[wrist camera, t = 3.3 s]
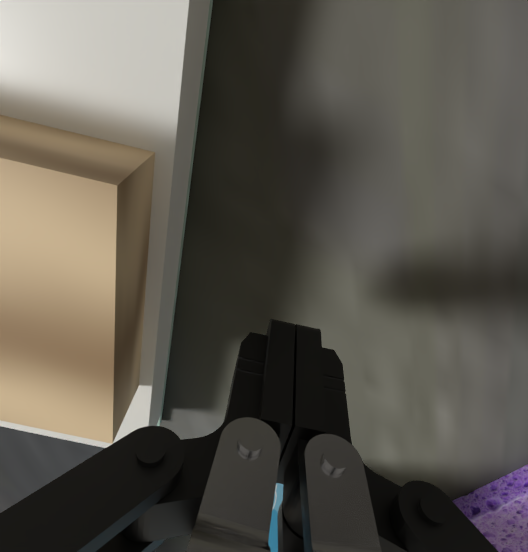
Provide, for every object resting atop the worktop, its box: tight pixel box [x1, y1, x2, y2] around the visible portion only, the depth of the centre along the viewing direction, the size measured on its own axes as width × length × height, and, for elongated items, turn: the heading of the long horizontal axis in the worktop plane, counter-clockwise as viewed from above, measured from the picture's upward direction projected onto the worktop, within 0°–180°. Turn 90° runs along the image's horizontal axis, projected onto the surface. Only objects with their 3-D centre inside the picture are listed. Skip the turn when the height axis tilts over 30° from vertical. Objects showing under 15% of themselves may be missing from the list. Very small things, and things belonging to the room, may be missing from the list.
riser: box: [0, 0, 210, 448], centre depth 14 cm, size 18×8×2 cm, turn 168°
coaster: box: [0, 115, 155, 444], centre depth 12 cm, size 9×7×2 cm
